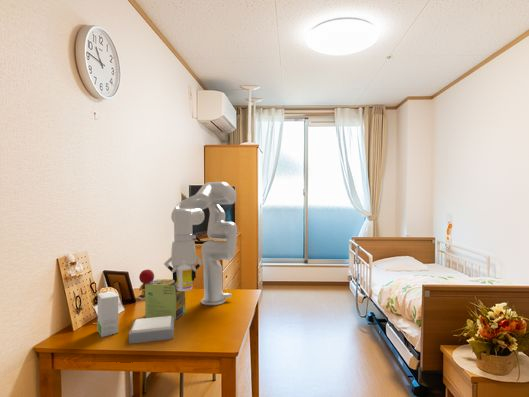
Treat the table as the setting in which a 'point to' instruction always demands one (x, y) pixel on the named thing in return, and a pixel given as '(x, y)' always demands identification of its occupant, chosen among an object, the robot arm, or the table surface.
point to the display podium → (152, 329)
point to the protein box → (164, 299)
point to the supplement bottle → (184, 277)
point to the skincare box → (107, 313)
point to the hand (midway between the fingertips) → (184, 280)
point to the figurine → (145, 281)
